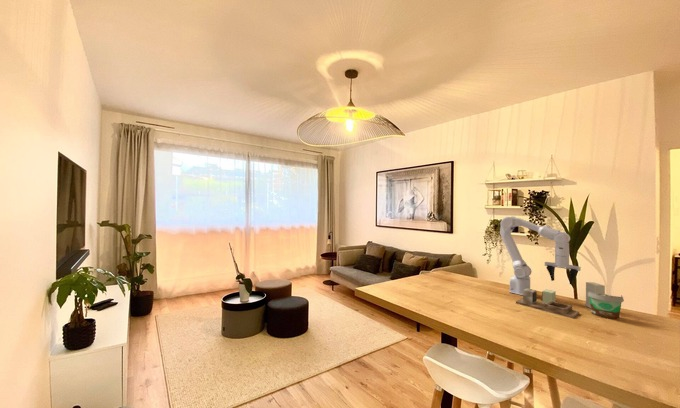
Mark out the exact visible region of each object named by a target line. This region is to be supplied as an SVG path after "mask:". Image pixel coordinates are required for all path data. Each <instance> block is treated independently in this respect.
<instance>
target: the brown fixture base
mask: <svg viewBox="0 0 680 408" xmlns="http://www.w3.org/2000/svg"><path fill="white" fill-rule="evenodd" d="M537 295H538V294H537V290H536V289H533V288H532V289H531V288H530V289H528V288H527V289H524V290H523V295H522V298H520V299H518V300H516V301H515V304H517V305H521V306H525V307H529V308H533V309H535V310H540V311H544V312H548V313H552V314H556V315H558V316H563V317H567V318H571V319H574V318H577V316H578V315H580V311H578V310H573V305H571V304H567V303H566V304H565V303H563V302H557V301H555V302H554V301H551V302H549V303H543V301H542V302H541V301H538V300H537Z"/></svg>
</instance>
